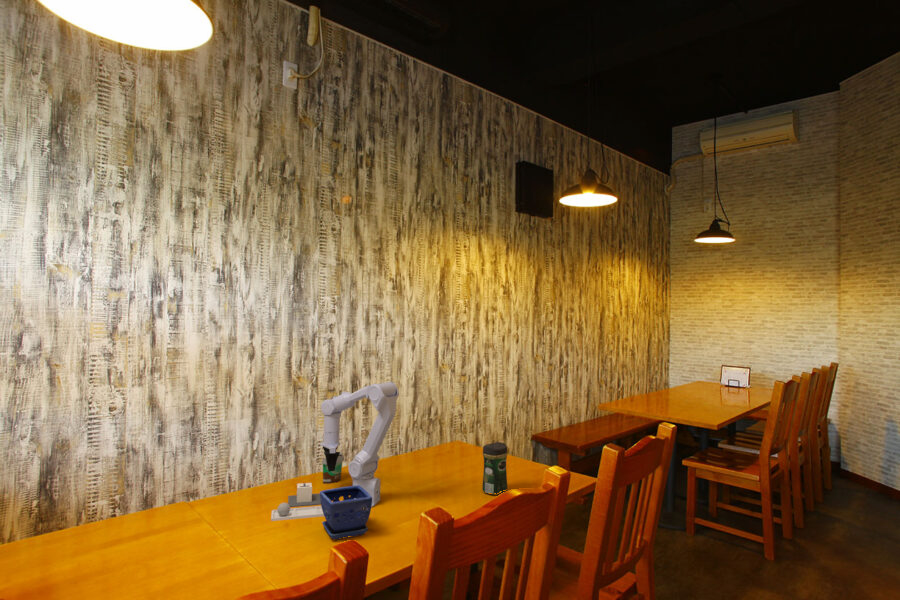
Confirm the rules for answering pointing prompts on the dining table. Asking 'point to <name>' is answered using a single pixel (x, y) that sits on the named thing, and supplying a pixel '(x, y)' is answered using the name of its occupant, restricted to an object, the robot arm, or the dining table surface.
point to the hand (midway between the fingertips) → (330, 468)
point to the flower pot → (345, 511)
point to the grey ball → (283, 509)
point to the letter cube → (304, 492)
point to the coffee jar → (495, 468)
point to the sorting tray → (298, 513)
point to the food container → (332, 475)
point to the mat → (293, 502)
